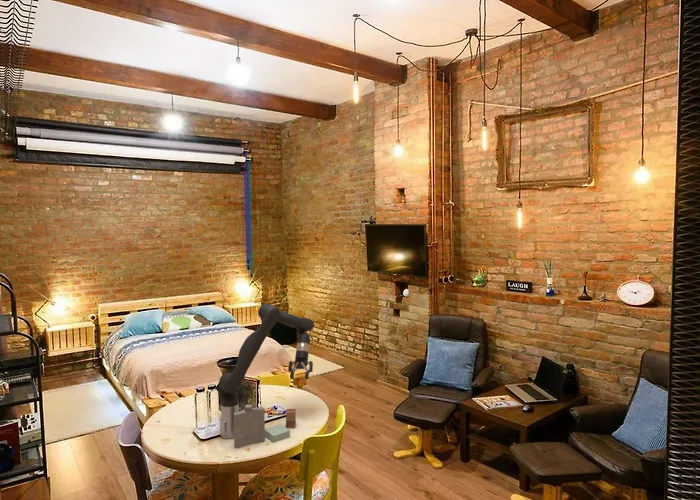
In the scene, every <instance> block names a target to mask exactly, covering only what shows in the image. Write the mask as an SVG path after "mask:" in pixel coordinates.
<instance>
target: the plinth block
mask: <svg viewBox="0 0 700 500" xmlns="http://www.w3.org/2000/svg"><path fill="white" fill-rule="evenodd" d="M290 438H291V430H290V428H286V426H284V425H283V424H281V423H279V424H276V425H273V426H270V427H268V428H266V427H265V439H267V440H269V441H270V442H272V443H273V444H275V443H277V441H278V442H279V441H283V440H286V439H290Z"/></svg>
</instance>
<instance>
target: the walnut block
mask: <svg viewBox="0 0 700 500" xmlns="http://www.w3.org/2000/svg"><path fill="white" fill-rule="evenodd" d="M296 411H297V410H296V408H286V410H285V427H286V428H287V429H296V425H297V421H296V420H297V419H296V418H297V417H296V415H297V413H296Z"/></svg>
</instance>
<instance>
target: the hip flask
mask: <svg viewBox="0 0 700 500" xmlns="http://www.w3.org/2000/svg"><path fill="white" fill-rule="evenodd" d="M244 407H245V409H243V410H240V411H239V412H235V413H234V438H233V442H234V444H233V445H234V446H233V447H234V449H240V448H243V447H246V446H250V445H254V444H258V443H259V444H260V443H264V442H265V441H266V437H265V429H266V427H265V426H266V424H265V423H266V422H265V407H264V406H261V407H260V406H259V407H253V405H252V404H246V405H245V406H244Z"/></svg>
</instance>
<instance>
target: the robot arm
mask: <svg viewBox="0 0 700 500" xmlns="http://www.w3.org/2000/svg"><path fill="white" fill-rule="evenodd" d="M257 314H258V317H259V318H260V319H261V320H263V321H262V322H261V324H260V326H258V328H257V329H256V330H254V331H253V332H252V333H250V334H249V335H248V336H247V337H246V338H245V339H244V341H243V343H242V345H241V347H240V348H239V352H238V356H237V361H236V364H235V367H234V369H232V372H225V373H223V374H222V375H221V376H220V377H219V380H218V395H219V396H218V397H219V399H220V418H219V433H220V434H219V435H220V436H221V437H222V438H223V439H224V440H226V439H234V413H235V412H239V410H240V407H239V404H240V402H239V396H238V394H237V391H239V389H240V388H241V386H242V384H243V381H244V380H245V376H246V374H247V372H248V370H249V368H250V367H251V364H252V363H253V362H254V359H255V357H256V356H257V354H258V352H259V351H260V349H261V346H262V345H263V343H264V341H265V339H266V338H267V337H268V334H269V333H270V332H271V330H272V329H273V328H274V326H275V325H276V323H277V322H278V323H280V324H283V325H285V326H287V327H290V328H293V329H296V330H297V344H296V350H295V357H294V358H295V359H294V361H292V360H289V363H288V368H287V372H289V373H290V376H289V377H290V380H295V379H294V378H295V372H296V371H297V370H305V376H304V380H306V381H307V380H308V379H309V375H310V373H313V367H314V363H313V361H312V360H310V361H308V360H309V353H310V342H311V337H310V335H309V334H307V333H306V332H310V331H312V330H313V329H314V327H315V322H314V321H313V320H312V319H311V318H307V317H300V316H297V315H295V314H291V313H288V312H285V311H281V309H280V308H278V307H277V306H274V305H271V303H270V304H269V303H264V304H262V305H260V306H259V307H258V310H257ZM308 365H309V367H307V366H308Z"/></svg>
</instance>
